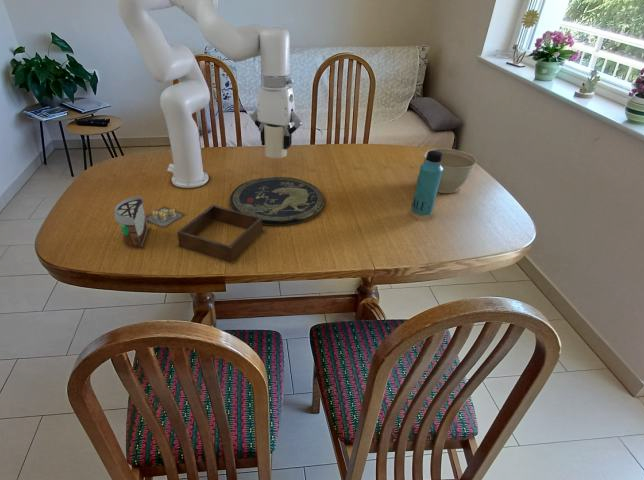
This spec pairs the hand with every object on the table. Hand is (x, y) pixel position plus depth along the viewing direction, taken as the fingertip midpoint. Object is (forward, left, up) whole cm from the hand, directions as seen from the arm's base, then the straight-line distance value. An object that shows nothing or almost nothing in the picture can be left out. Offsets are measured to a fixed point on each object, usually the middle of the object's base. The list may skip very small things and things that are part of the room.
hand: (276, 145), depth 119 cm
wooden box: (-4, -25, -19) cm, 32 cm away
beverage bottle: (+43, +13, -19) cm, 49 cm away
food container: (-26, -36, -19) cm, 49 cm away
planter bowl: (+46, +35, -19) cm, 61 cm away
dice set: (-26, -23, -19) cm, 40 cm away
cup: (0, 0, -3) cm, 3 cm away
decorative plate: (0, +1, -19) cm, 19 cm away
